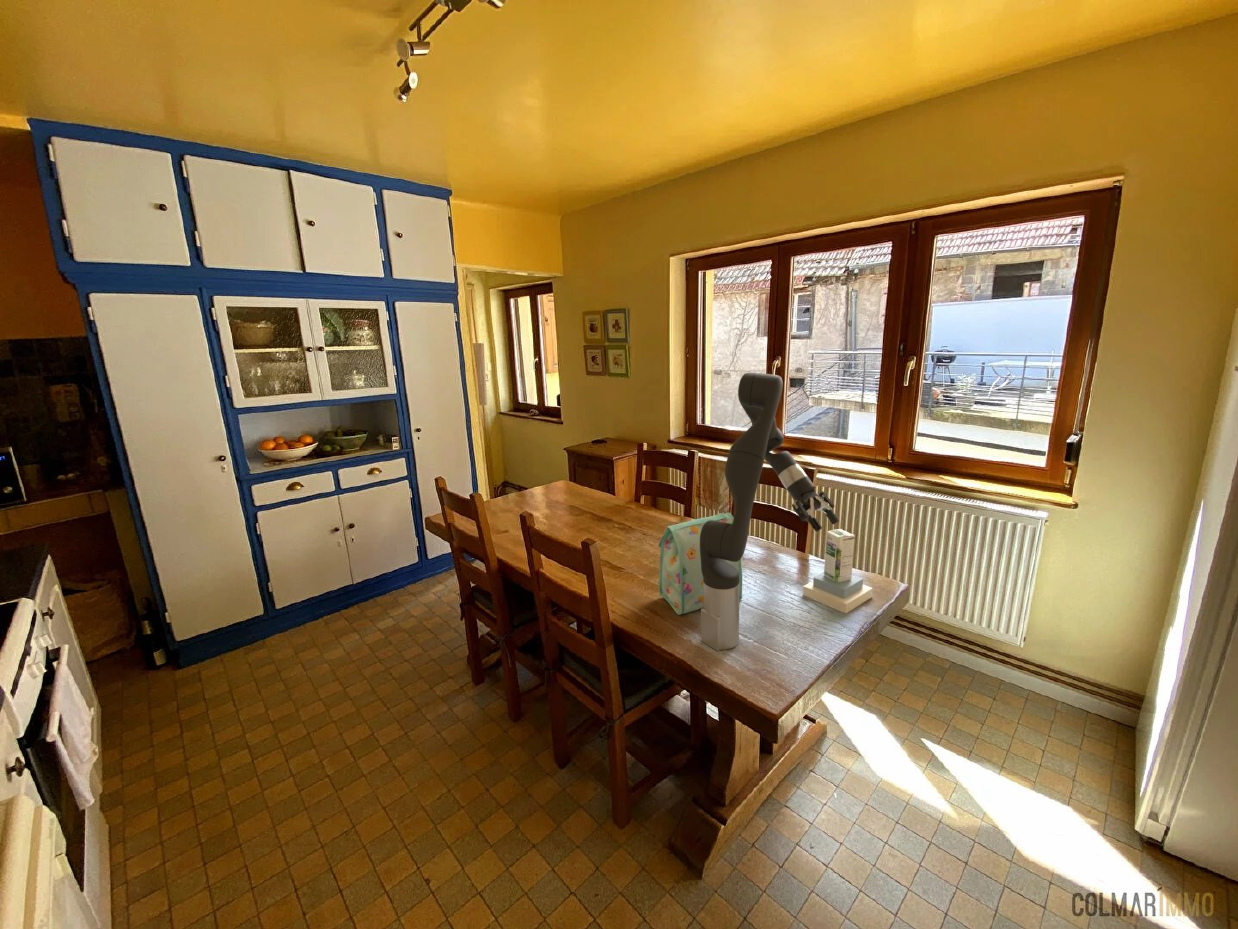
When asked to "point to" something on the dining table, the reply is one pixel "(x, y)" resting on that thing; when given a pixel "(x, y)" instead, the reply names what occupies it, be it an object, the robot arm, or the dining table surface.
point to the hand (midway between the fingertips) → (827, 526)
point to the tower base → (837, 600)
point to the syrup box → (839, 555)
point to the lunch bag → (686, 564)
